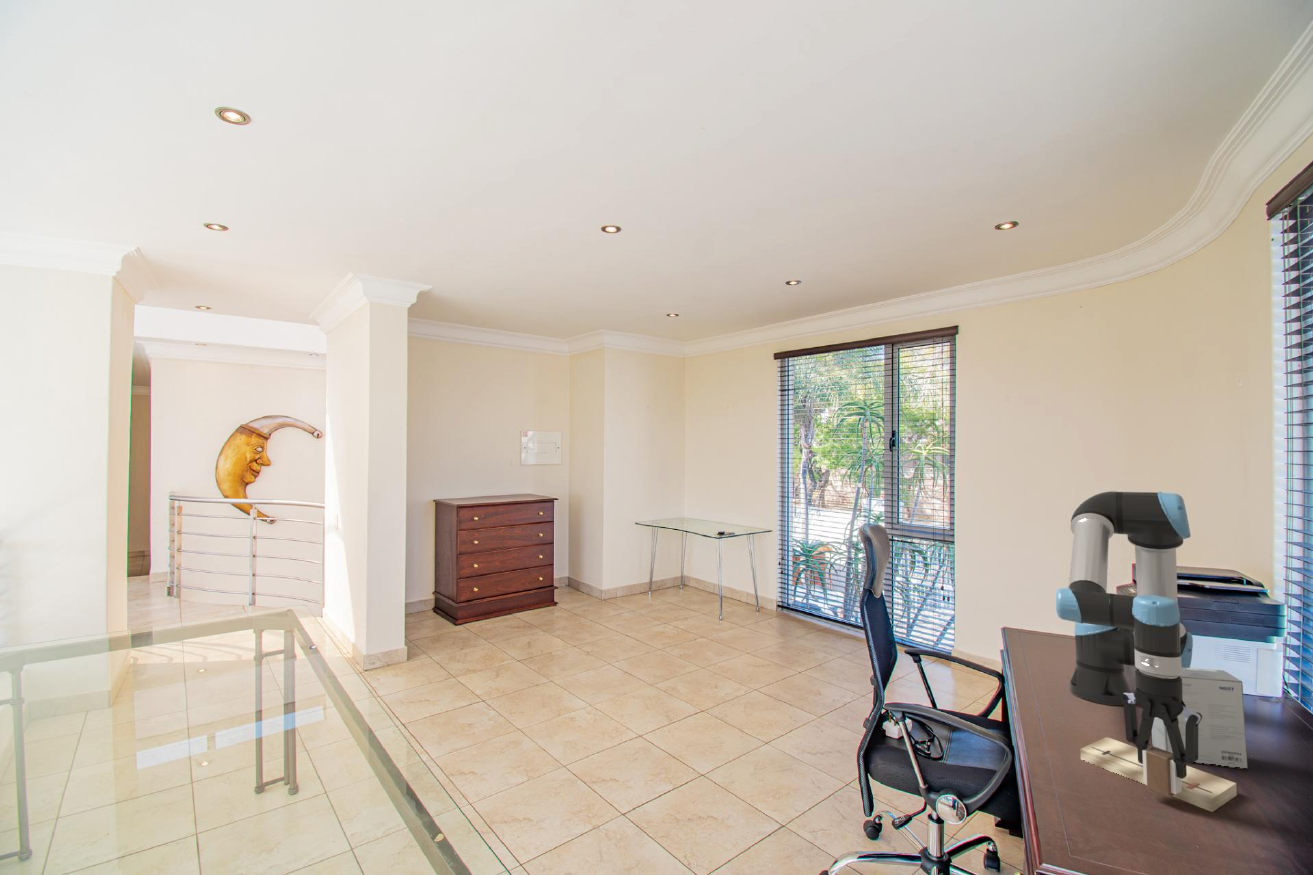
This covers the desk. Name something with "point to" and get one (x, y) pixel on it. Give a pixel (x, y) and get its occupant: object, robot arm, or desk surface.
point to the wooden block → (1159, 771)
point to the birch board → (1125, 762)
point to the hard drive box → (1211, 717)
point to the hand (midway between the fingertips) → (1162, 786)
